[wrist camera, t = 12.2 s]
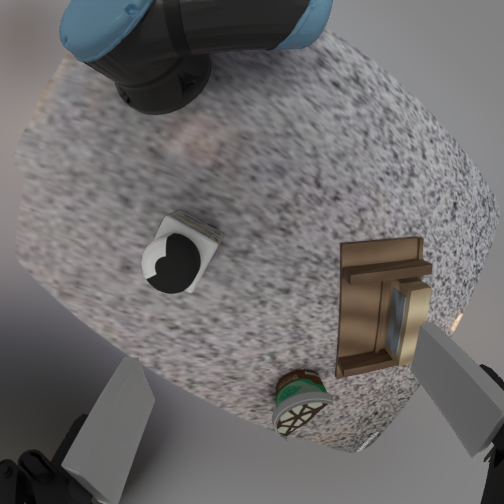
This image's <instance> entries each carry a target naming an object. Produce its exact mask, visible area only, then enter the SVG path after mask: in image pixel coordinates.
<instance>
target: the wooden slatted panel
mask: <svg viewBox="0 0 504 504" xmlns="http://www.w3.org/2000/svg"><path fill="white" fill-rule="evenodd" d="M423 241H424V239H423V238H420V237H408V238H396V239H384V240H372V241H361V242H349V243H340V309H339V330H338V345H337V358H336V370H335V377H336V378H342V377H347V376H352V375H357V374H362V373H367V372H371V371H376V370H380V369H384V368H388V367H392V366H396V363H395V362H394V361H393V359H392V358H391V356H390V355H389V354H388V352H387V351H386V350H385V348H384V347H383V341H384V335H385V328H386V320H387V312H388V303H389V293H390V281H391V280H396V279H403V278H410V277H416V278H418V279H419V280H421V276H422V275H429V274H432V264H430V263H428V262H426V261H424V260H423V259H422V257H423ZM403 366H405V365H403Z"/></svg>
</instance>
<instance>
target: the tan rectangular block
mask: <svg viewBox="0 0 504 504" xmlns="http://www.w3.org/2000/svg"><path fill="white" fill-rule="evenodd" d="M430 294H431V287H430V286H429V285H427V284H426V283H424V282H423V281H421V280H419V279H418V278H416V277H410V278H403V279H396V280H391V281H390V293H389V303H388V312H387V320H386V328H385V335H384V341H383V347H384V348H385V350H386V351H387V352H388V354H389V355H390V356H391V358H392V359H393V361H394V362H395V363H396V365H397V366H398V367H399V366H403V365H407V364H410V363H412V361H413V357H414V352H415V348H416V343H417V338H418V333H419V328H420V325H422V324H425V323H426V319H427V313H428V307H429V301H430Z"/></svg>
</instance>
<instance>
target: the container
mask: <svg viewBox="0 0 504 504" xmlns="http://www.w3.org/2000/svg"><path fill="white" fill-rule="evenodd" d="M222 238H223V233H221V232H220V231H218V230H216V229H214V228H212V227H211V226H209V225H207V224H205V223H203V222H202V221H200V220H198V219H196V218H194V217H193V216H191V215H189V214H187V213H185V212H184V211H182V210H179V211H176V212H174V213H171V214H169V215H166V216H165V217H164V219H163V221H162V223H161V225H160V227H159V229H158V232H157V234H156V236H155V238H154V240H153V242H151V243H150V244H149V245H148V246H147V247H146V249H145V251H144V253H143V256H142V270H143V273H144V276H145V278H146V279H147V281H148V282H149V283H150V284H151V285H152V286H153V287H154V288H155V289H157V290H159V291H161V292H164V293H169V294H174V293H179V292H182V291H184V290H185V291H187V292H189V293H193V292H194V290H195V288H196V286H197V284H198V282H199V280H200V279H201V277H202V275H203V273H204V271H205V269H206V267H207V266H208V264H209V262H210V260H211V258H212V257H213V255H214V253H215V251H216V249H217V247H218V246H219V244H220V242H221V240H222Z"/></svg>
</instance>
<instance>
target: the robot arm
mask: <svg viewBox="0 0 504 504" xmlns="http://www.w3.org/2000/svg"><path fill="white" fill-rule="evenodd" d="M332 4H333V0H71V2H70V3H69V5H68V6H67V8H66V10H65V12H64V14H63V17H62V20H61V25H60V31H59V33H60V40H61V42H62V44H63V46H64V47H65V48H66V49H67V50H68V51H70V52H71V53H72V54H73V55H74V56H75V58H77V59H78V60H79V61H81V62H83V63H85V64H87V65H88V66H90V67H92V68H93V69H95V70H97V71H98V72H100V73H102V74H103V75H105V76H106V77H108V78H110V79H111V80H113V81H114V82H115V85H116V88H117V90H118V93H119V95H120V97H121V98H122V99H123V101H124V102H125V103H126V104H127V105H129V106H130V107H132V108H134V109H135V110H137V111H139V112H142V113H145V114H152V115H158V114H166V113H170V112H173V111H175V110H178V109H180V108H182V107H184V106H185V105H187V104H188V103H190V102H191V101H192V100H193V99H195V98H196V97H197V96H198V94H199V93H200V92H201V91H202V90H203V88H204V87H205V85H206V83H207V81H208V79H209V76H210V71H211V59H210V56H209V53H218V52H228V51H241V50H261V49H265V50H266V51H275V50H278V49H300V48H304V47H306V46H308V45H310V44H312V43H314V42H315V41H316V40H317V39H318V38H319V36H320V35H321V33H322V32H323V30H324V28H325V26H326V23H327V21H328V18H329V15H330V12H331V8H332ZM410 370H411V371H412V373H413V374H414V375H415V377H416V378H417V379H418V381H419V382H420V383H421V385H422V386H423V387H424V389H425V390H426V392H427V393H428V394H429V396H430V397H431V399H432V400H433V401H434V403H435V404H436V406H437V407H438V408H439V410H440V411H441V413H442V414H443V416H444V417H445V418H446V420H447V422H448V423H449V425H450V426H451V427H452V429H453V430H454V432H455V433H456V435H457V436H458V438H459V440H460V441H461V443H462V444H463V446H464V447H465V449H466V450H467V452H468V453H469V455H470V457H471V458H472V459H473V458H474V457H476V456H478V455H479V454H480V453H482V452H484V451H485V450H486V449H487V447H488V446H489V445H490V443H491V442H493V444H494V447H493V448H492V449H491V450H490V452H489V453H488V454H487V456H486V457H485V459H484V462H486V460H487V459H488V458H489V457H490V456H491V457H490V460H489V462H490V464H489V470H488V475H487V479H486V484H485V488H484V492H483V496H482V500H481V504H504V382H503V380H502V379H501V378H500V377H498V375H497V374H496V373H495V372H494V371H493V370H492V369H491V368H489V367H487V366H485V365H483V364H481V365H478V364H477V363H475V361H474V360H473V359H472V358H471V357H470V356H469V355H468V354H467V353H466V352H464V351H463V350H462V349H461V348H460V347H459V346H458V345H457V344H456V343H455V342H454V341H453V340H452V339H451V338H450V337H448V336H447V335H446V334H445V333H444V332H443V331H442V330H441V329H440V328H439V327H438V326H436V325H435V324H434V323H433V322H429V323H425V324H422V325H420V328H419V333H418V338H417V343H416V348H415V352H414V357H413V361H412V365H411V369H410ZM154 402H155V398H154V396H153V394H152V391H151V389H150V387H149V384H148V382H147V379H146V377H145V374H144V372H143V369H142V366H141V364H140V361H139V358H130V357H129V358H127V357H124V358H123V360H122V362H121V363H120V365H119V366H118V368H117V369H116V371H115V373H114V374H113V376H112V378H111V379H110V381H109V382H108V384H107V386H106V387H105V389H104V391H103V392H102V394H101V395H100V397H99V399H98V400H97V402H96V404H95V406H94V407H93V409H92V411H91V412H90V414H89V415H86V414H82V415H81V416H80V417H79V418H77V419H76V420H75V421H74V423H73V424H72V426H71V428H70V431H68V433H67V434H66V436H65V437H66V438H64V439H63V441H62V443H61V444H60V446H59V448H58V450H57V451H56V453H55V455H54V457H53V458H52V461H51V462H50V461H49V460H48V459H47V458H46V457H45V456H44V455H43V454H42V453H41V452H40V451H38V450H28V451H26V452H24V453H23V454H22V455H21V456H20V458H19V459H18V466H17V465H16V463H14V462H13V461H12V460H9V459H5V460H2V461H0V504H24V503H25V504H93V503H92V502H91V499H92V497H95V498H96V499H97V500H98V501H99V502H101V503H104V504H118V503H119V500H120V497H121V494H122V491H123V488H124V485H125V482H126V479H127V476H128V473H129V470H130V468H131V465H132V462H133V459H134V456H135V453H136V451H137V448H138V445H139V442H140V439H141V437H142V434H143V431H144V429H145V426H146V423H147V421H148V418H149V415H150V413H151V410H152V407H153V405H154Z"/></svg>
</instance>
